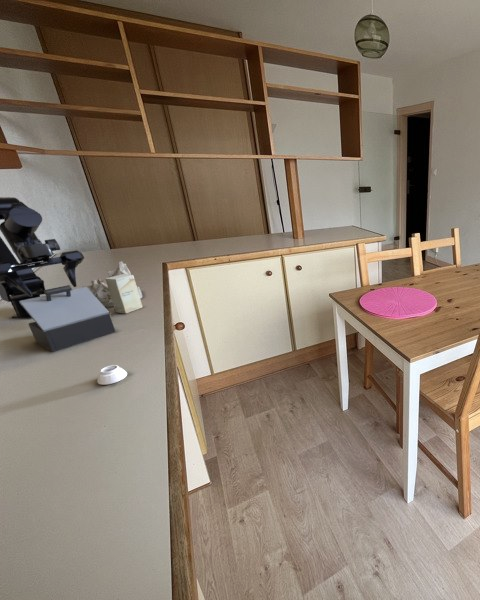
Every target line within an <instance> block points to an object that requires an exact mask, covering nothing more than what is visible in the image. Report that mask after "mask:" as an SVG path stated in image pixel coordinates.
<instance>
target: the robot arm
mask: <svg viewBox="0 0 480 600" xmlns="http://www.w3.org/2000/svg"><path fill="white" fill-rule="evenodd" d="M1 220H2V222H1V223H0V232H1V233H2V235H3V237H4V239H5V240H6V242H7V243H8V245H9V246H8V245H7V244H6V242H5V241H4V240H3V238H2V237H1V236H0V298H1V300H2V301H5V302H7V303H10V304H11V305H12V308H13V310H14V312H15V314H14V315H11V316H10V317H11V318H12V319H33V318H32V317H31V316H30V315H29V314H28V312H27V311H26V310H25V309H24V308H23V306H22V305H21V304H20V302H19V301H22V300H27V299H32V298H36V297H41V296H43V295H45V293H44V290H46V287H45V281H44V279H42V278H41V277H40V276H38V275H37V274H36V273H35V272H34V270H33V269H37V268H41V267H43V268H44V267H49V266H53V265H59V264H61V265H63V271H64V273H65V275H66V276H67V278H68V280H69V281H70V284H71V285H72V287H73V288H77V276H76V268H77V267H78V266H79V265H80V264H82V262H83V260H84V259H85V256H84V255H83V253H82V252H81V251H79V250H70V251H64V252H61V254H60V256H56V257H52V256H53V255H54V251H55V252H56V251H61V246H60V245H59V243H58V241H57V240H56V238H50V239H45V240H44V243H43V242H42V240H40V239H39V238H38V236H37V235H36V233H35V232H37V230H38V229H39V227H40V226H41V224H42V222H43V217H42V215H41V213H39V212H38V211H37V210H35V209H33V208H31V207H29V206H28V205H26V204H25V203H24V202H23V201H20V200H19V199H18V198H17V197H15V196H13V197H10V196H7V197H6V196H3V197H2V196H1V197H0V221H1ZM3 220H4V221H3ZM9 247H10V248H11V250H10V248H9ZM12 252H13V253H12ZM14 255H15V256H14Z"/></svg>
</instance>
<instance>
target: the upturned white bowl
mask: <svg viewBox="0 0 480 600" xmlns="http://www.w3.org/2000/svg"><path fill="white" fill-rule="evenodd" d="M127 375H128V372H127V371H126V370H125V369H123V368H122V367H121V366H119V365H116V364H110V365H106V366H105V367H103V368H101V369H100V372H99V374H98V377H97V380H96V381H97V384H98V385H104V386H105V385H112V384H116V383H118V382H120V381H122V380H124V379H125V378H126V377H127Z"/></svg>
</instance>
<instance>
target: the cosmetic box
mask: <svg viewBox="0 0 480 600" xmlns="http://www.w3.org/2000/svg"><path fill="white" fill-rule="evenodd" d="M104 280H106V283H107V286H108V289H109V292H110V295H111V298H112V302H113V305H114V306H113V308H114V311H115V313H118V314H129V313H132V312H134V311H137V310H140V309H142V308H143V304H142V300H141V298H140V296H139V293H138V289H137V287H138V286H136V285H137V283H136V279H135V277H134V274H131V275H130V274H121V275H118V276H113V277H110V278H109V277H106V278H105V279H104Z"/></svg>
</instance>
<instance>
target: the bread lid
mask: <svg viewBox="0 0 480 600" xmlns="http://www.w3.org/2000/svg"><path fill="white" fill-rule="evenodd" d="M44 293H45V294H44V295H40V297H36V298H32V299H27V300H22V301H19V302H20V304H21V305H22V306H23V308H24V309H25V310H26V311H27V312H28V314H29V315H30V316H31V317H32V318H31V319H32V320H33V322H36V323H37V324H38V326H39V327H40V328H41V329H42V330H43V332H45V331H48V330H52V329H56V328H59V327H63V326H66V325H70V324H73V323H77V322H81V321H84V320H88V319H91V318H95V317H98V316H102V315H106V314H110V311H109V310H108V309H107V307H104V306H103V305H102V303H101V302H100V301H99V300H98V299H97V298H96V297H95V296H94V295H93V293H92V292H91V291H90V290H89V289H88V288H87V287H84V288H82V287H80V288H74V289H72V286H71V285H69V284H67V285H63V286H58V287H53V288H48V289H45V290H44Z"/></svg>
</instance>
